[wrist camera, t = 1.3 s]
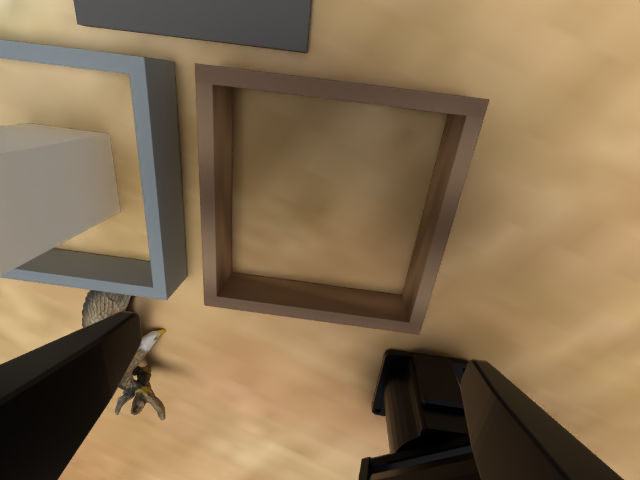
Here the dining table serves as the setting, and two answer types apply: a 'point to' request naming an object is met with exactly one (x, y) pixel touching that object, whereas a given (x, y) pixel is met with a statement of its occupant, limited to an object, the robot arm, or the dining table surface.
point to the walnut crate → (310, 297)
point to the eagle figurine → (110, 304)
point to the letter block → (51, 188)
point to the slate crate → (156, 177)
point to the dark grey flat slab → (206, 20)
